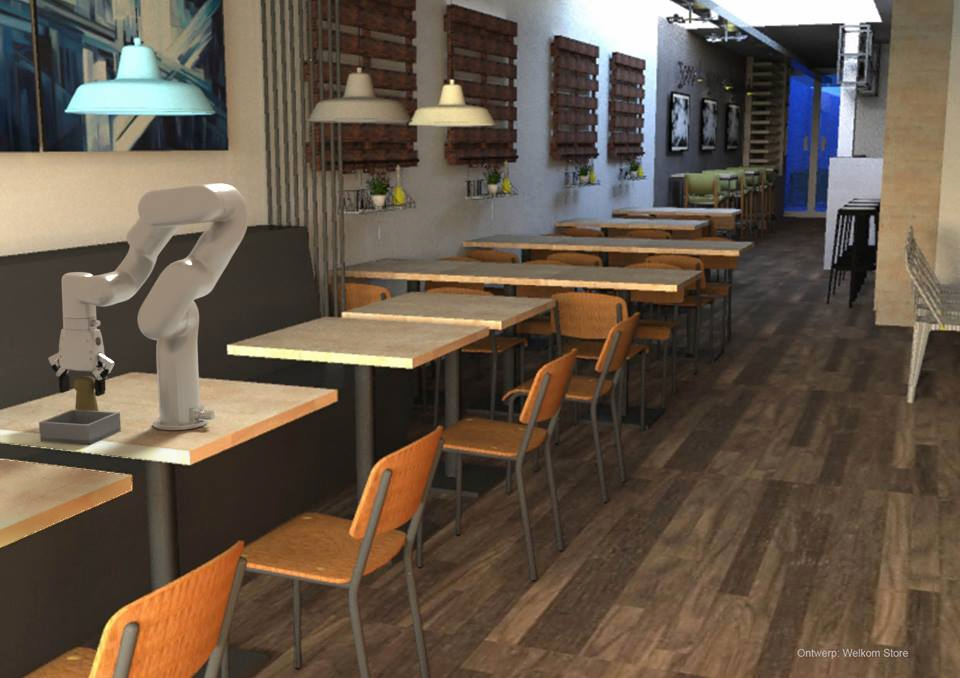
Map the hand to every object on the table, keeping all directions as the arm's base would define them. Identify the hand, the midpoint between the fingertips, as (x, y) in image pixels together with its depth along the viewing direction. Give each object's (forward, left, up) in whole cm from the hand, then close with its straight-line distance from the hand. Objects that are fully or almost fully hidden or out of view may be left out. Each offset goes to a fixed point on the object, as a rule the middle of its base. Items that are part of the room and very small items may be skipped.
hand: (82, 393), depth 262 cm
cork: (-1, 0, -7) cm, 7 cm away
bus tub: (-8, +13, -7) cm, 17 cm away
